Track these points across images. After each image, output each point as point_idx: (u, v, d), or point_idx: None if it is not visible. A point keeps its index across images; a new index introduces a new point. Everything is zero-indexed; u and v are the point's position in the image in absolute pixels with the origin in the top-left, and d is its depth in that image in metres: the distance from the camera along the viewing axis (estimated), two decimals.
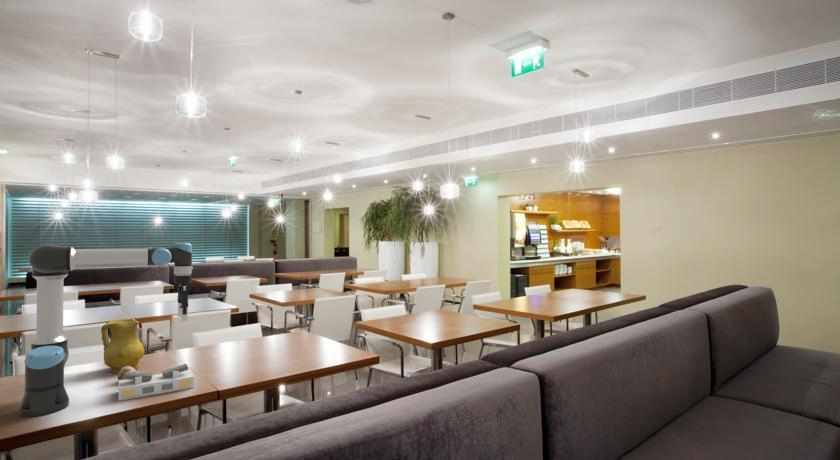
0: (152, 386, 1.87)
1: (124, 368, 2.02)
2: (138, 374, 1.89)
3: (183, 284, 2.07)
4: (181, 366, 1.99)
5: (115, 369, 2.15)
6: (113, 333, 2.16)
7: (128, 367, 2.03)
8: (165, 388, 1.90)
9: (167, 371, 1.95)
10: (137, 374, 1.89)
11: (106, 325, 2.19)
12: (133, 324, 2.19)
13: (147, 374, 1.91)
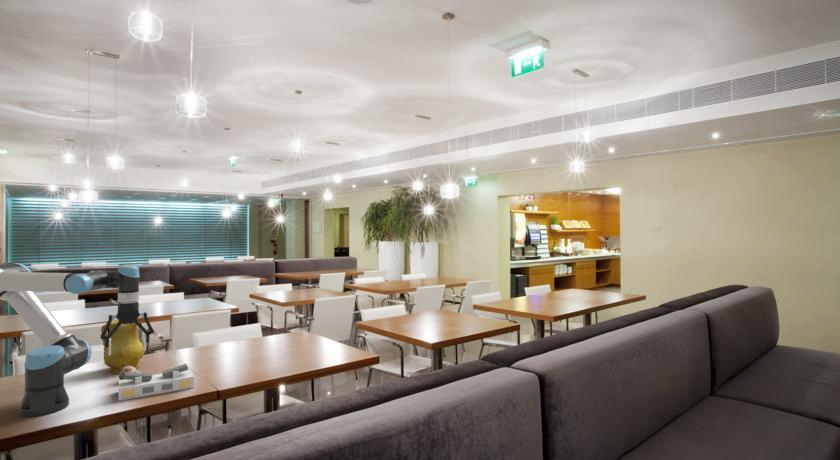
0: (152, 386, 1.87)
1: (125, 368, 2.02)
2: (138, 374, 1.89)
3: None
4: (181, 366, 1.99)
5: (115, 369, 2.15)
6: (113, 333, 2.16)
7: (129, 367, 2.04)
8: (165, 388, 1.90)
9: (167, 371, 1.95)
10: (137, 374, 1.89)
11: None
12: (133, 324, 2.19)
13: (147, 374, 1.91)
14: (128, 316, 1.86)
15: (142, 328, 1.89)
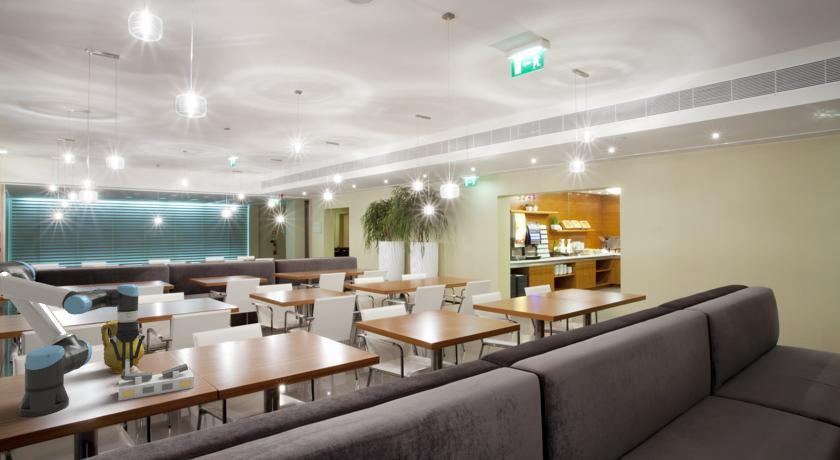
0: (152, 386, 1.87)
1: None
2: (138, 374, 1.89)
3: (117, 331, 1.85)
4: (181, 366, 1.99)
5: (115, 369, 2.15)
6: (113, 333, 2.16)
7: None
8: (165, 388, 1.90)
9: (167, 371, 1.95)
10: (137, 374, 1.89)
11: (106, 325, 2.19)
12: None
13: (147, 373, 1.91)
14: (127, 335, 1.86)
15: (131, 351, 1.87)
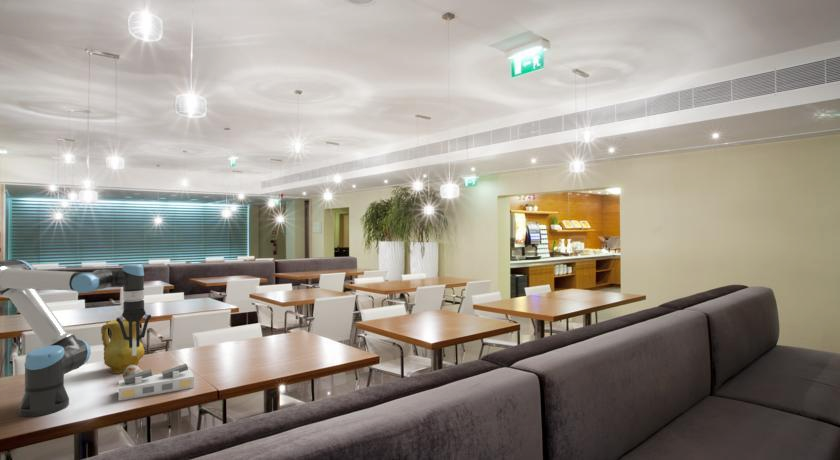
0: (152, 386, 1.87)
1: (129, 367, 2.04)
2: (137, 374, 1.89)
3: (123, 311, 1.86)
4: (181, 366, 1.99)
5: (115, 369, 2.15)
6: (113, 333, 2.16)
7: (133, 366, 2.05)
8: (165, 388, 1.90)
9: (167, 371, 1.95)
10: (136, 375, 1.89)
11: (106, 325, 2.19)
12: (133, 324, 2.19)
13: (147, 371, 1.91)
14: (134, 314, 1.87)
15: (137, 330, 1.88)
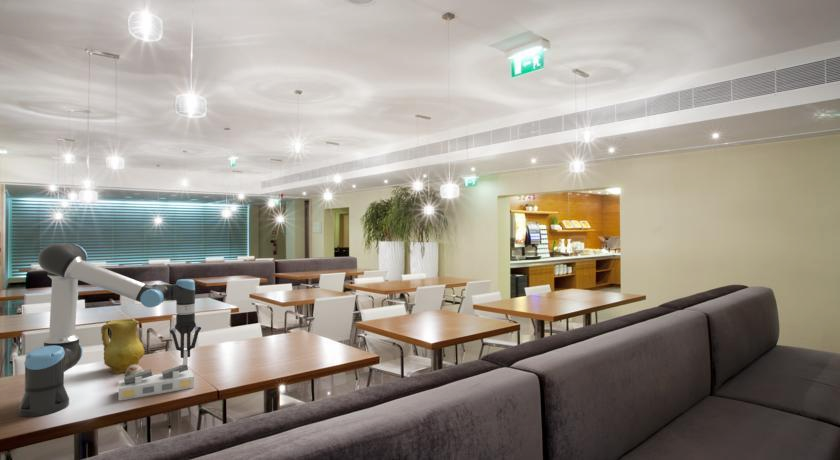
0: (152, 386, 1.87)
1: (131, 366, 2.04)
2: (137, 374, 1.89)
3: (176, 323, 1.98)
4: (181, 366, 1.99)
5: (115, 369, 2.15)
6: (113, 333, 2.16)
7: (135, 366, 2.05)
8: (165, 388, 1.90)
9: (167, 371, 1.95)
10: (136, 375, 1.89)
11: (106, 325, 2.19)
12: (133, 324, 2.19)
13: (147, 371, 1.91)
14: (186, 326, 1.99)
15: (189, 341, 1.99)
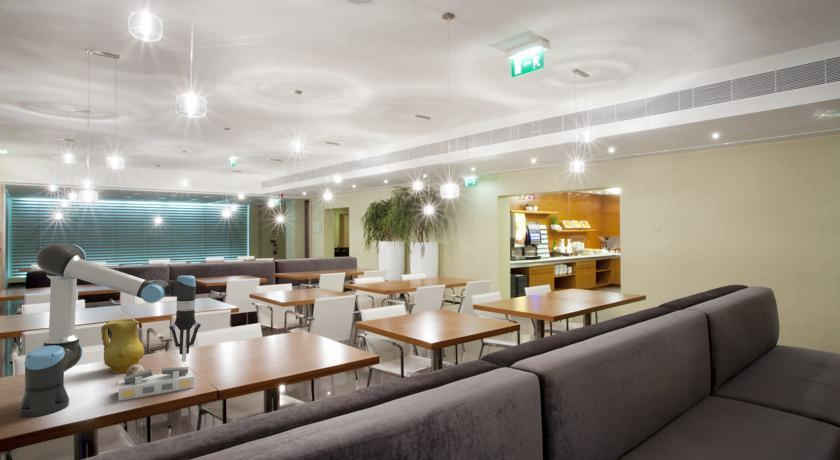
0: (152, 386, 1.87)
1: (132, 366, 2.05)
2: (137, 374, 1.89)
3: None
4: (182, 368, 1.99)
5: (115, 369, 2.15)
6: (113, 333, 2.16)
7: (136, 365, 2.06)
8: (165, 388, 1.90)
9: (168, 369, 1.95)
10: (136, 375, 1.89)
11: (106, 325, 2.19)
12: (133, 324, 2.19)
13: (147, 371, 1.91)
14: (185, 323, 1.99)
15: (188, 338, 1.99)
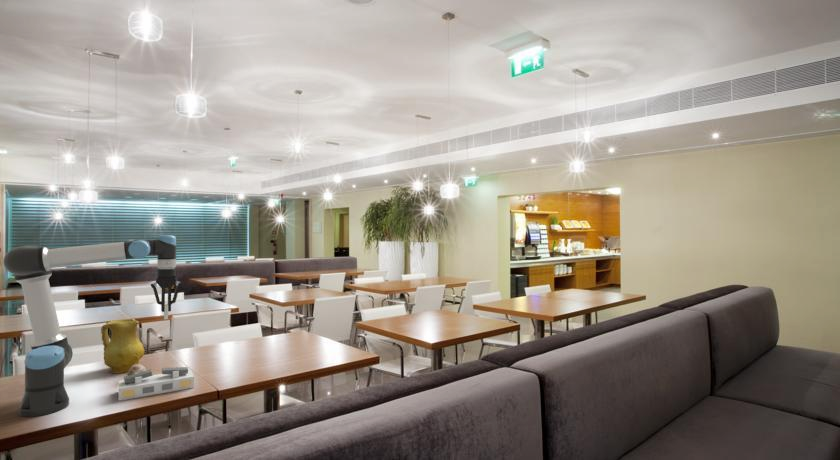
0: (152, 386, 1.87)
1: (134, 366, 2.05)
2: (137, 374, 1.89)
3: (157, 277, 2.02)
4: (182, 368, 1.99)
5: (115, 369, 2.15)
6: (113, 333, 2.16)
7: (138, 365, 2.06)
8: (165, 388, 1.90)
9: (168, 369, 1.95)
10: (136, 375, 1.89)
11: (106, 325, 2.19)
12: (133, 324, 2.19)
13: (147, 371, 1.91)
14: (166, 281, 2.03)
15: (169, 296, 2.04)
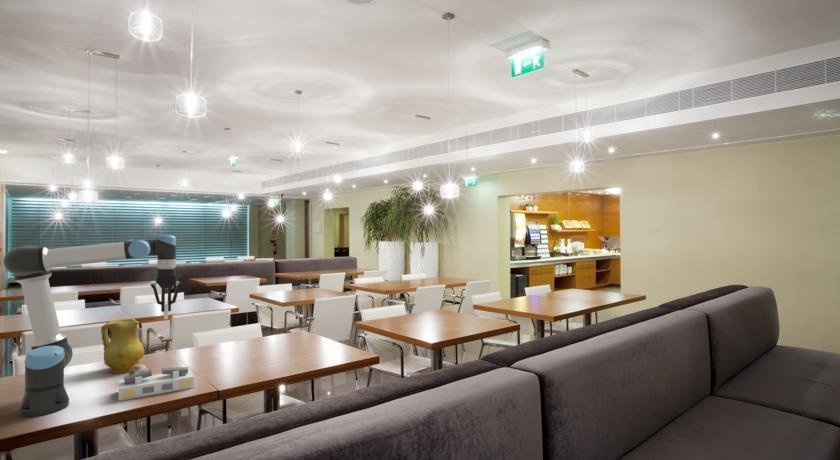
0: (152, 386, 1.87)
1: (135, 366, 2.06)
2: (137, 374, 1.89)
3: (157, 277, 2.02)
4: (182, 368, 1.99)
5: (115, 369, 2.15)
6: (113, 333, 2.16)
7: (139, 365, 2.07)
8: (165, 388, 1.90)
9: (168, 369, 1.95)
10: (136, 375, 1.89)
11: (106, 325, 2.19)
12: (133, 324, 2.19)
13: (147, 371, 1.91)
14: (166, 281, 2.03)
15: (169, 296, 2.04)
